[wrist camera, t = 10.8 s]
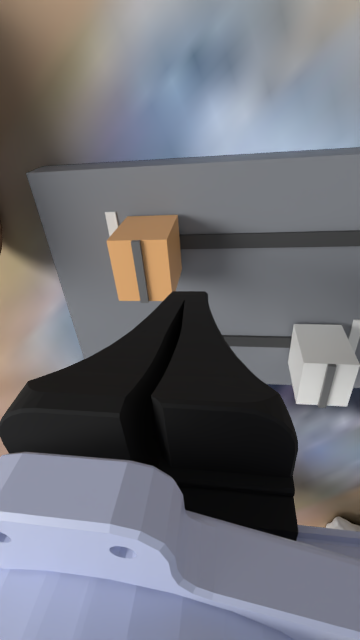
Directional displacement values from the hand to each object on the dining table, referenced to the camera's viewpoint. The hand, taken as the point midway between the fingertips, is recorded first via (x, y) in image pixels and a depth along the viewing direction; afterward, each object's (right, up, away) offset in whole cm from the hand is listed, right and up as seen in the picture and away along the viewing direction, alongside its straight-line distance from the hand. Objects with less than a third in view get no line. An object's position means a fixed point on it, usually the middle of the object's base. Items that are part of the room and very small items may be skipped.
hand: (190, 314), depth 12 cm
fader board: (+3, +2, +9) cm, 10 cm away
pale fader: (+8, -2, +9) cm, 12 cm away
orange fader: (-2, +4, +6) cm, 8 cm away
